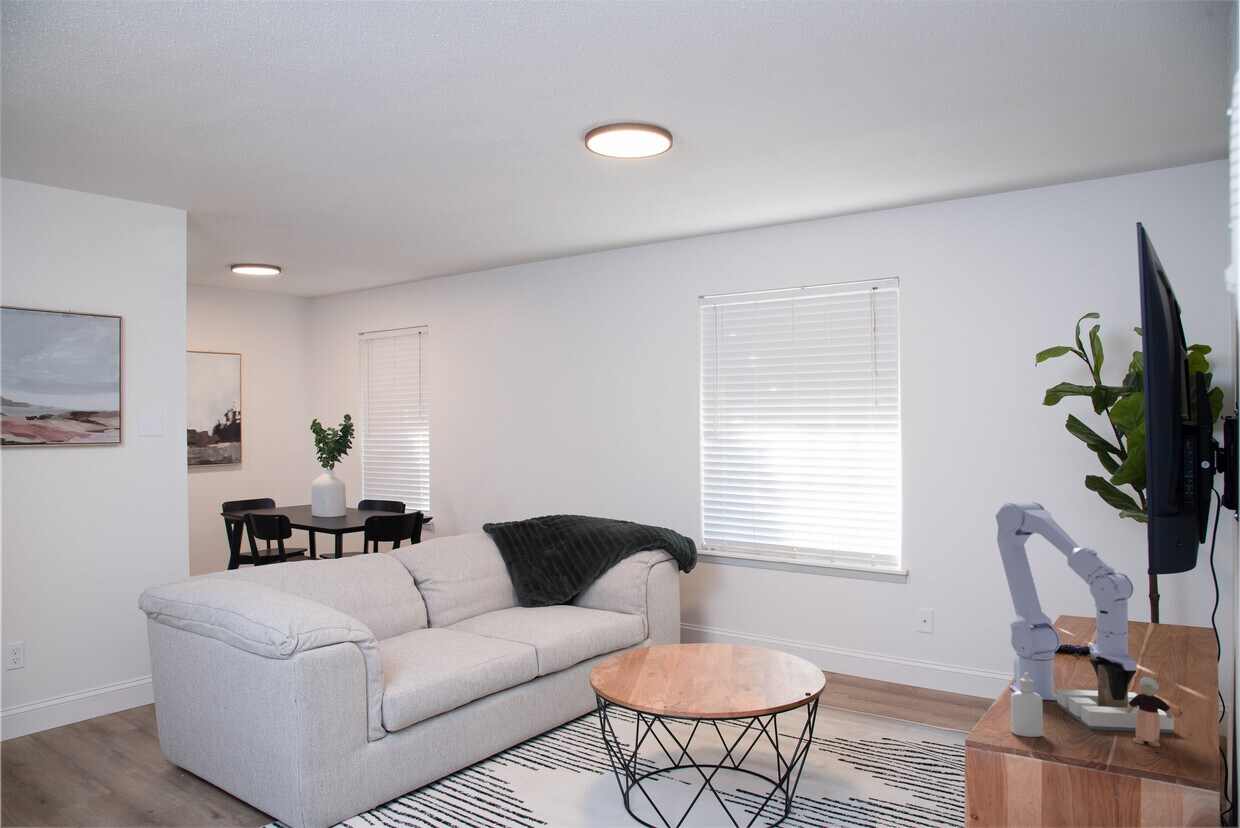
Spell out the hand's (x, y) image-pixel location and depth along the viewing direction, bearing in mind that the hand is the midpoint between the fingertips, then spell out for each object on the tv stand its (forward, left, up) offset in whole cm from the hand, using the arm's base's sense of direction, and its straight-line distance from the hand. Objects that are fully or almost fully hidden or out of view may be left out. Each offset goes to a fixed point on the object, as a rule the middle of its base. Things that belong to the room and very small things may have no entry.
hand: (1112, 696), depth 178 cm
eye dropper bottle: (+13, -22, -5) cm, 26 cm away
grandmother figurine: (+15, 0, -5) cm, 16 cm away
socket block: (0, 0, -5) cm, 5 cm away
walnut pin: (0, 0, -3) cm, 3 cm away
